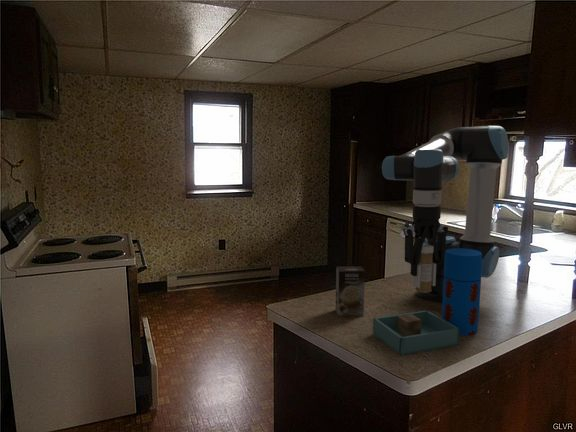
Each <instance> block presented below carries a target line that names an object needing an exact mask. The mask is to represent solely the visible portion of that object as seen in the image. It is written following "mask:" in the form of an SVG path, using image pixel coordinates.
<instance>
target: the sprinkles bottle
mask: <svg viewBox="0 0 576 432" xmlns="http://www.w3.org/2000/svg"><path fill="white" fill-rule="evenodd" d="M433 250H434V247H433V246H432V245H429V244H423V246H422V251H421V255H420V259H419V265H421V278H420V288H417V287H415V291H416V292H417V291H418V292H423V293H428V292H431V291H432V289H431V281H432V264H433V263H432V258H433Z"/></svg>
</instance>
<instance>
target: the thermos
mask: <svg viewBox="0 0 576 432" xmlns="http://www.w3.org/2000/svg"><path fill="white" fill-rule="evenodd" d="M481 271H482V253H481V252H480V251H477V250H472V249H464V248H452V249H447V250H446V252H445V260H444V283H443V302H442V307H441V309H442V310H441V318H442V319H443V320H445V321H447V322H449V323H450V324H452V325H454V326H456V327H458V328H459V329H460V336H472V335H475V334H477V333H478V329H479V328H478V327H479V320H480V306H481V305H480V304H481V303H480V301H481V285H482V283H481V282H482V277H481Z"/></svg>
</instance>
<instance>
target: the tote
mask: <svg viewBox="0 0 576 432" xmlns="http://www.w3.org/2000/svg"><path fill="white" fill-rule="evenodd" d="M409 314H412V315H414V316H416V317H417V318H419V319H421V334H418V335H412V336H406V337H404V336H403V335H402V334H400V333H399V332H397V324H398V316H402V315H409ZM372 334H373V335H374V336H375V337H377V338H378V339H379V340H381V341H382V342H383V343H384V344H386V345H387V346H388V347H389V348H390V349H391V350H393V351H395V353H397V354H398V356H407V355H412V354H418V353H424V352H430V351H433V350H434V351H435V350H439V349H445V348H451V347H456V346H460V342H461V341H460V337H461V335H460V329H459V328H458V327H456V326H454V325H452V324H450V323H449V322H447V321H445V320H443V319H442V317H440V316H438V315H436V313H435V314H434V313H433V312H431V311H430V310H420V311H413V312H405V313H399V314H393V315H386V316H380V317H373V319H372Z"/></svg>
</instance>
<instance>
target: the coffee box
mask: <svg viewBox="0 0 576 432" xmlns="http://www.w3.org/2000/svg"><path fill="white" fill-rule="evenodd" d="M335 271H336V273H335V275H336V276H335V280H336V281H335V312H336V314H337V316H340V317H342V316H343V317H344V316H345V317H347V316H348V317H349V316H350V317H352V316H353V317H354V316H357V317H358V316H365V315H364V312H365V311H364V310H365V307H364V306H365V283H366V282H365V276H366V275H365V269H364V268H363V267H362V266H336V270H335Z"/></svg>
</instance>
